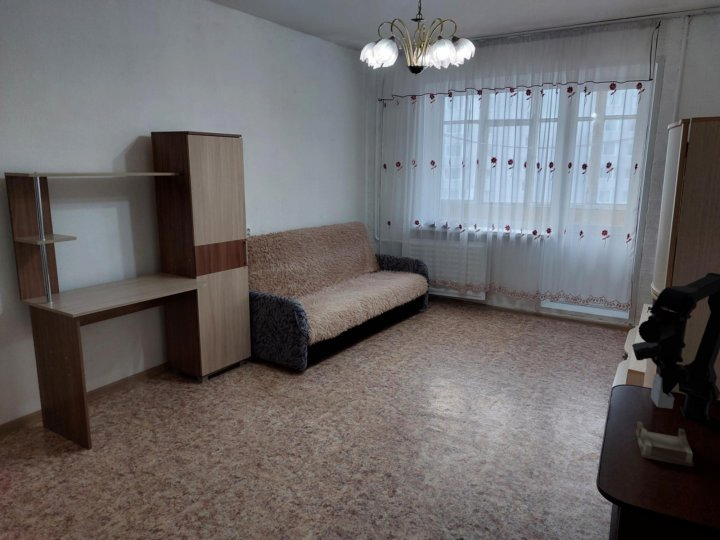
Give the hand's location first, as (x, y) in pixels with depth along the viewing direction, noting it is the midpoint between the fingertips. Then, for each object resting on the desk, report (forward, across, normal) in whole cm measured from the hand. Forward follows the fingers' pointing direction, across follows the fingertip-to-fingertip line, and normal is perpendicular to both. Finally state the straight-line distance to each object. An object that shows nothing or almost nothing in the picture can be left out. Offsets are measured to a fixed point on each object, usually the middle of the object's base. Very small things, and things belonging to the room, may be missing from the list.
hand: (663, 390), depth 136 cm
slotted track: (+12, +9, 0) cm, 15 cm away
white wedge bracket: (+4, 0, 0) cm, 4 cm away
